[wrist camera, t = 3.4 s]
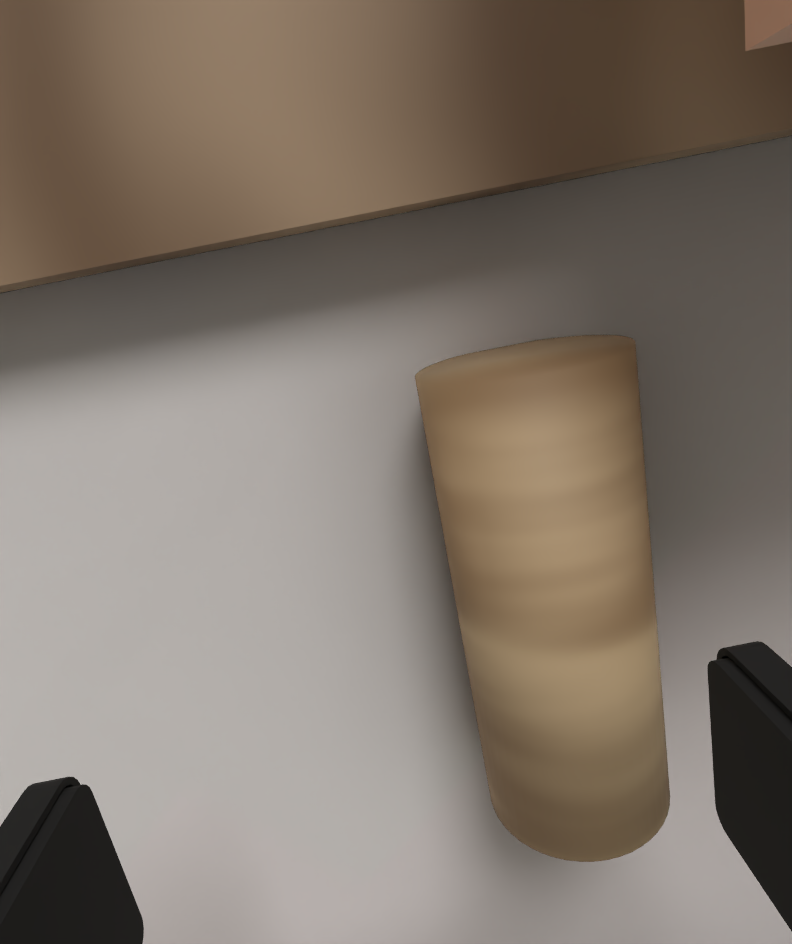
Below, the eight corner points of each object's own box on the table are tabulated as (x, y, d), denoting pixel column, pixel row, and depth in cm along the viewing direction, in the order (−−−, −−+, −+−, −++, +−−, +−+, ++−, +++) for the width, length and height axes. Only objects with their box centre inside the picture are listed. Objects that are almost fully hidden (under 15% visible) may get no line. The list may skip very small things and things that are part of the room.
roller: (408, 364, 14) (591, 328, 14) (477, 741, 17) (628, 713, 17) (424, 397, 10) (676, 348, 10) (509, 877, 13) (704, 842, 13)
